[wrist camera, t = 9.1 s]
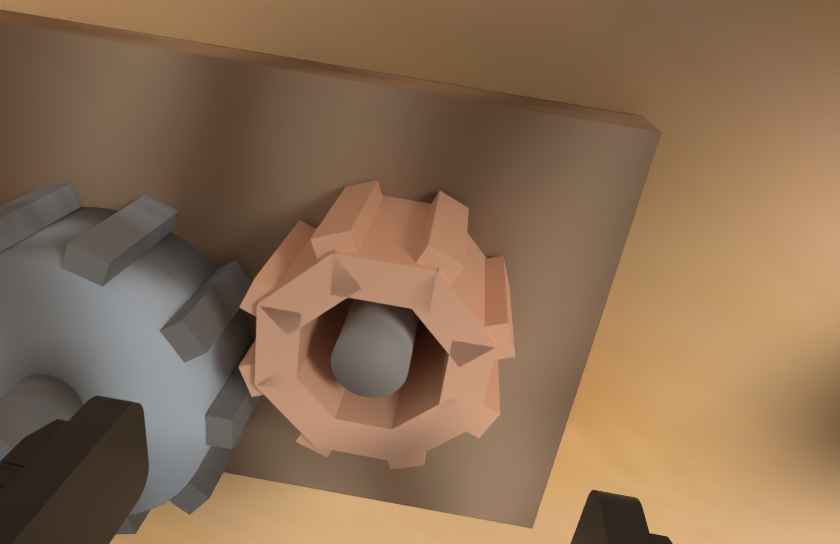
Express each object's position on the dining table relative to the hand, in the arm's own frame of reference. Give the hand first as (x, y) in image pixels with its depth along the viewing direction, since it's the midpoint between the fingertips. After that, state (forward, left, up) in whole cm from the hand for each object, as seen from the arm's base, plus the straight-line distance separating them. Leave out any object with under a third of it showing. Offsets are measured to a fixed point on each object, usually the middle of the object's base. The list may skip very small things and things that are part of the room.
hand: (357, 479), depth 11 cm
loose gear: (0, 0, -7) cm, 7 cm away
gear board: (+5, +2, -9) cm, 11 cm away
